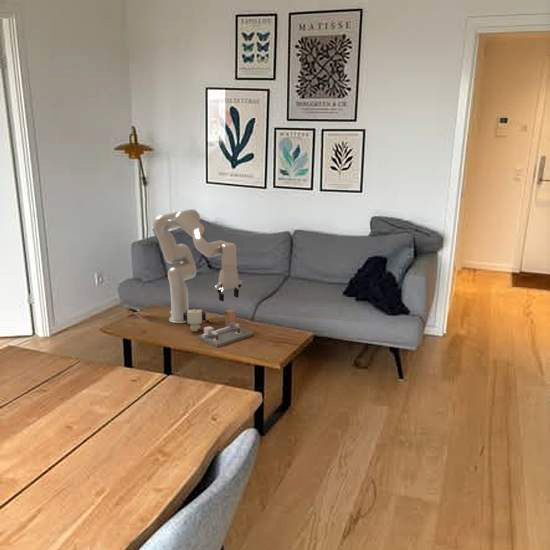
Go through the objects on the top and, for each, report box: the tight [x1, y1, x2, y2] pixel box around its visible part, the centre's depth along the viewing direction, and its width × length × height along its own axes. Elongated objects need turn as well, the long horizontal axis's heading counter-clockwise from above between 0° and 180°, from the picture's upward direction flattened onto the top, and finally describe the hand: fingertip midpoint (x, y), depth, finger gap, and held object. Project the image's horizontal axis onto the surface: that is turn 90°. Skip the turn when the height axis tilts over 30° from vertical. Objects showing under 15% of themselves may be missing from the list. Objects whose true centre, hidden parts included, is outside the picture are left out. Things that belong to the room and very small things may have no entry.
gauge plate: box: [197, 323, 255, 348], centre depth 280 cm, size 16×24×6 cm, turn 133°
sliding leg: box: [224, 308, 241, 332], centre depth 284 cm, size 9×4×10 cm, turn 43°
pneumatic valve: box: [183, 308, 207, 332], centre depth 289 cm, size 6×12×12 cm, turn 94°
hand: (228, 298), depth 283 cm, fingers open, 9 cm apart
